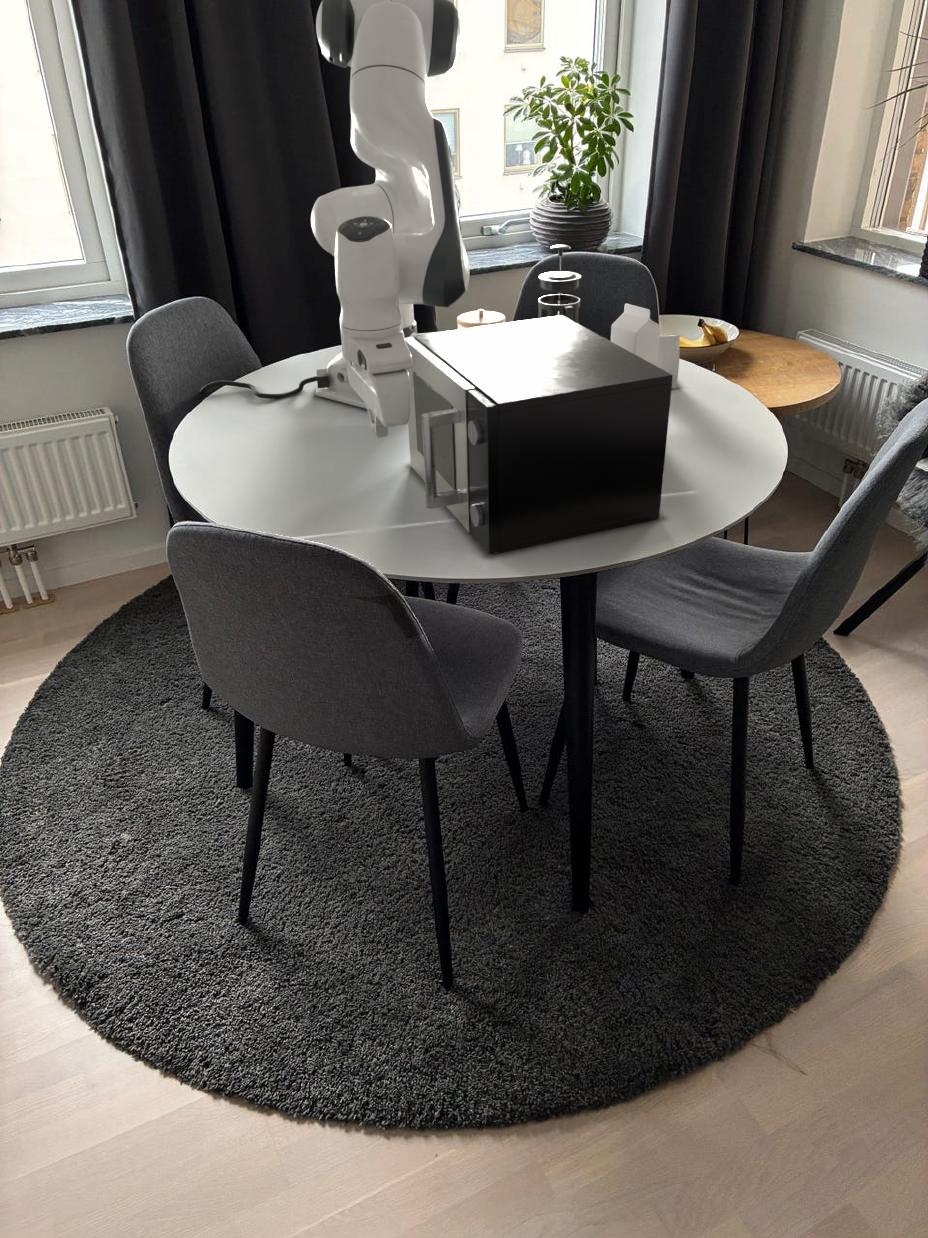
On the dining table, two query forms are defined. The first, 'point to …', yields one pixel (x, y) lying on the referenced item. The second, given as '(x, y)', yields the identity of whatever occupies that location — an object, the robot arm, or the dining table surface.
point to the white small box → (669, 356)
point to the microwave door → (439, 431)
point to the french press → (559, 283)
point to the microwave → (557, 430)
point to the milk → (637, 333)
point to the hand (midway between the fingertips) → (379, 433)
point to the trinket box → (479, 319)
